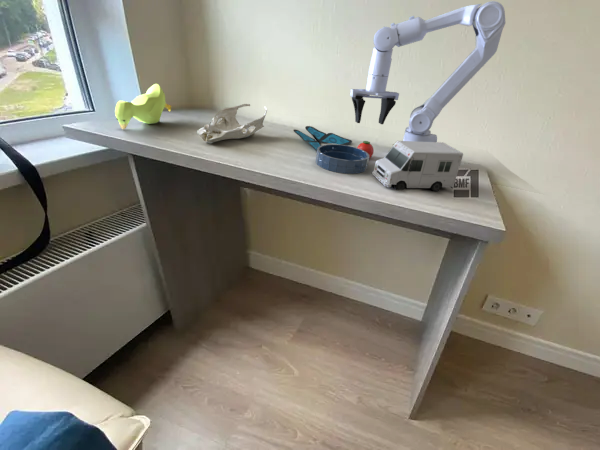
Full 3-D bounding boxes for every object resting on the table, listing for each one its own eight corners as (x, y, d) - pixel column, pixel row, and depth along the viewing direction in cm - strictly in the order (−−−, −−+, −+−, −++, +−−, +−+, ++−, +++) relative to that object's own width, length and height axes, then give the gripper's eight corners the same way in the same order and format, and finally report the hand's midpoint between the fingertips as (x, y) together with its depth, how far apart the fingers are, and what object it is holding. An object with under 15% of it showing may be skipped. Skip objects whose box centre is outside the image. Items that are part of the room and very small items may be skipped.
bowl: (365, 161, 107) (368, 148, 106) (367, 178, 95) (370, 163, 93) (317, 155, 108) (319, 141, 106) (313, 171, 96) (315, 156, 94)
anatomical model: (275, 108, 119) (225, 116, 99) (273, 136, 123) (224, 149, 103) (238, 100, 125) (184, 106, 105) (238, 127, 129) (185, 138, 109)
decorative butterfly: (314, 130, 128) (315, 122, 127) (350, 143, 122) (352, 135, 121) (280, 144, 113) (281, 135, 112) (319, 160, 108) (321, 151, 106)
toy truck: (368, 171, 100) (375, 135, 95) (439, 178, 101) (450, 142, 96) (377, 190, 88) (385, 150, 84) (457, 198, 89) (471, 158, 84)
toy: (154, 136, 128) (107, 125, 109) (162, 87, 126) (116, 68, 107) (168, 139, 127) (124, 129, 108) (177, 90, 124) (133, 71, 105)
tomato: (371, 157, 111) (374, 140, 109) (372, 162, 107) (375, 145, 105) (354, 155, 112) (357, 138, 109) (355, 160, 107) (358, 143, 105)
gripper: (359, 74, 100) (351, 125, 106) (407, 79, 103) (396, 127, 110) (350, 71, 106) (343, 119, 112) (396, 75, 109) (386, 121, 116)
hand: (369, 122), depth 111 cm, fingers open, 7 cm apart
